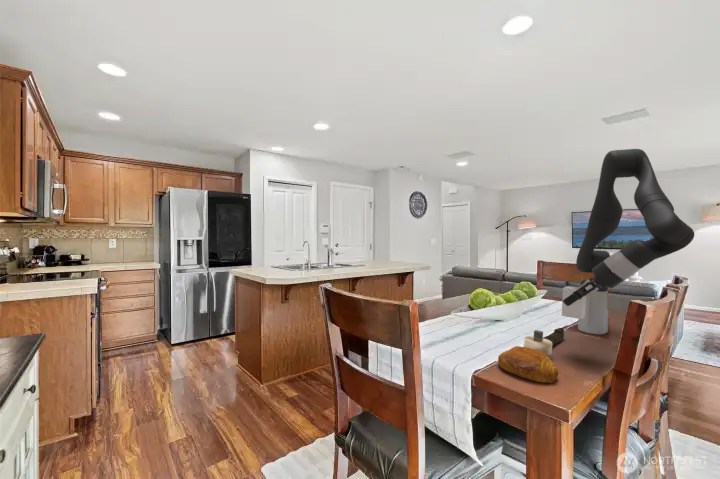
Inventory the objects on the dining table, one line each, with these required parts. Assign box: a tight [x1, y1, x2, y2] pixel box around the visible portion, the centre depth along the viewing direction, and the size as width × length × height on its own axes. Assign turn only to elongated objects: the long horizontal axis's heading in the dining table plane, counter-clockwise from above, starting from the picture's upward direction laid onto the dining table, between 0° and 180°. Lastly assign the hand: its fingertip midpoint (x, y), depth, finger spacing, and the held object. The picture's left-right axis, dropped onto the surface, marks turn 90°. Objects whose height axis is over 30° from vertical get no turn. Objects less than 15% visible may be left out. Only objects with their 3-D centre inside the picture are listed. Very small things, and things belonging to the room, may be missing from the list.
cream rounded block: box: [523, 329, 553, 360], centre depth 107 cm, size 8×8×8 cm
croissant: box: [497, 345, 559, 384], centre depth 95 cm, size 14×16×8 cm
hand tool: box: [544, 327, 565, 347], centre depth 118 cm, size 19×4×5 cm, turn 129°
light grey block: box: [561, 285, 586, 319], centre depth 106 cm, size 5×5×9 cm
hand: (567, 301), depth 107 cm, fingers closed on light grey block, 5 cm apart
